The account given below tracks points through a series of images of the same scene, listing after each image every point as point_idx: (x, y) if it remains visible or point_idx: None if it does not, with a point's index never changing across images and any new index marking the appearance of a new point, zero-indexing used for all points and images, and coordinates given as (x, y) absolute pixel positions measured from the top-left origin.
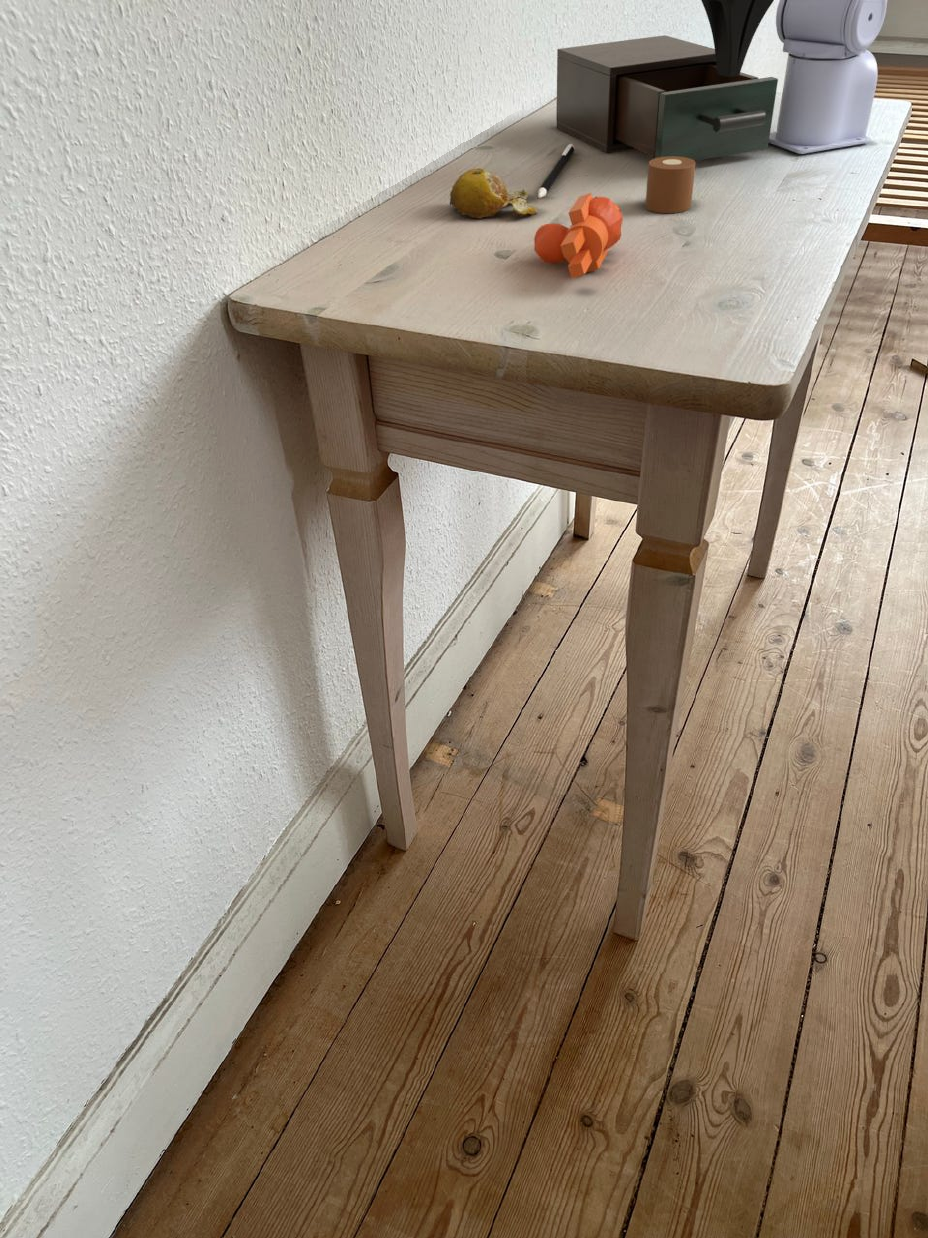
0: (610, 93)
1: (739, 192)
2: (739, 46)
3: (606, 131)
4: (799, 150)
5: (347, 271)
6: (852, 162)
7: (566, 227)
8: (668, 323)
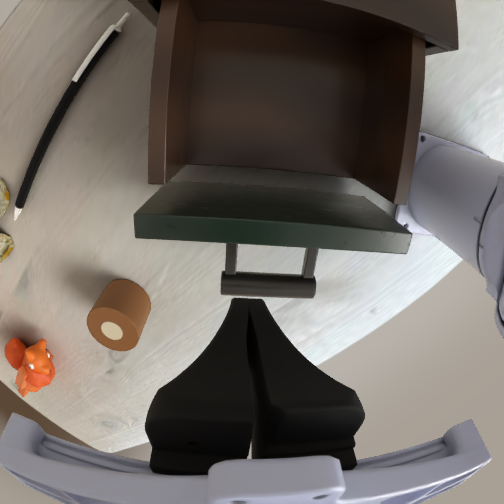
0: (145, 14)
1: (223, 304)
2: (249, 376)
3: None
4: None
5: None
6: (406, 280)
7: (19, 366)
8: (75, 418)
